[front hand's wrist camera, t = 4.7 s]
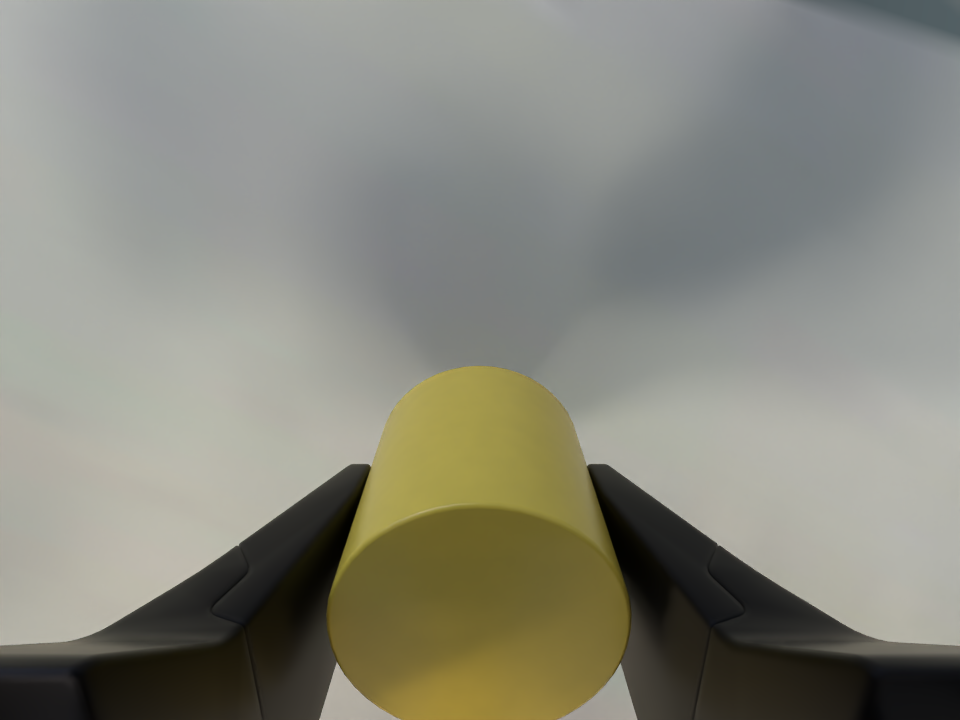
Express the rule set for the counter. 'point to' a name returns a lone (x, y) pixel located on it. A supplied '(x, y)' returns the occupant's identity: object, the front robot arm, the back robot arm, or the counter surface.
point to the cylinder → (479, 560)
